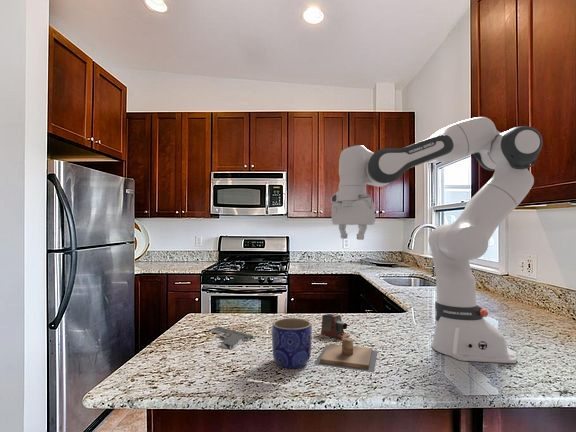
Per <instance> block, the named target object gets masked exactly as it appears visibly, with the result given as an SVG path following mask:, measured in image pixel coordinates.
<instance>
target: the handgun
mask: <svg viewBox="0 0 576 432" xmlns="http://www.w3.org/2000/svg"><path fill="white" fill-rule="evenodd" d="M211 329H212V330H211V332H212V333H215V334H217V338H218V339H223V341H221V342H220V347H222V348H226V349H229V350H234V349H236V348H237V347H238V346H239V345H240V343H242V342H245V341H246V342H249V341H251V340H253V339H254V335H253V334H249V333H245V332H243V331H242V332H241V331H239V330H234V329H230V328H225V327H221V326H216V327H214V328H211Z"/></svg>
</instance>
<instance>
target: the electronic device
mask: <svg viewBox="0 0 576 432" xmlns="http://www.w3.org/2000/svg"><path fill="white" fill-rule="evenodd" d="M347 328H348V324H347V322H344V321H342V317H341V315H340V314H335V313H334V314H329V313H327V314H323V315H321V330H320V334H321V335H324V336H327V337H329V338H334V339H337V340H340V341H342V338H350V337H351V334H348V333H347V332H345V331H344V330H347Z"/></svg>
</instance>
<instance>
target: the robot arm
mask: <svg viewBox="0 0 576 432" xmlns="http://www.w3.org/2000/svg"><path fill="white" fill-rule="evenodd" d="M543 144H544V143H543V136H542V134H541V133H540V131H538V129H536V128H534V127H532V126H528V125H522V126H517V127H516V126H515V127H512V128H510V129H509V130H506V131H503V132H501V131H499V130H498V129H497V128H496V125H495V123H494V121H492V120H491V119H490V118H488V117H486V116H478V117H472V118H468V119H465V120H461V121H458V122H456V123H453V124H450V125H447V126H446V127H443V128H441V129H439V130H437V131H436V132H435V133H433V134H431V136H430V137H428V138H426V139H424V140H421V141H418V142H415V143H412V144H410V145H408V146H405V147H401V148H400V147H399V148H397V147H395V148H394V147H393V148H390V147H386V148H381V149H378V150H376V151H374V152H373V151H371V150H369V149H367V147H365V146H364V145H360V144H354V145H350V146H347V147H345V148H343V150H342V151H341V152H340V154H339V160H338V175H339V176H338V177H339V182H338V190H337V191H336V192H335V193H334V194H333V195H332V196H331V197H330V203H332V205H331V222H332V224H333V225H336V226H338V230H339V233H340V238H341V239H342V240H343V239H345V240H346V239H348V233H347V231H346V230H347V226H349V225H350V226H355V225H358V227H357V228H358V229H359V230H358V233H356V240H358V241H362V240H363V241H364V239H365V235H366V234H365V233H366V232H367V229H368V227H367V226H371V225H373V226H374V224H375V222H376V209H375V204H374V201H373V197H372V196H371V194H369V193H367V185H368V186H373V187H377V188H381V187H385V186H387V185H388V184H390V183H393V182H395V181H397V180H398V179H400V177H402V176H403V174H404V173H406V171H407V170H409V169H411V168H414V167H416V166H420V165H422V164H424V163H427V162H430V161H434V160H435V161H437V162H439V163H443V164H444V163H449V162H454V161H457V160H461V159H463V158H465V157H469V156H471V155H473V156H474V157H475V158H476V159H475V160H476V161H477V163H478V164H479V166H480V167H482V168H483V169H484V170H487V171H491V172H493V171H494V172H493V175H492V176H491V178H490V179H489V180H488V181H487V182H486V183H485V184H484V185H483V186H481V188H480V189H479V190H478V191H477V192H476V193H475V194H474V195H473V196H472V197H471V198H470V199H469V200H468V201H467V202H466V204H465V207H464V209H463V210H462V212H461V214H460V215H459V217H457V219H456V220H455V221H454V222H452V223H445V224H441V225H439V226H436V227H435V228H434V229H432V231H431V232H430V234H429V235H428V244H429V247H430V250H431V255H432V256H431V257H432V261H433V267H434V272H435V280H436V281H435V284H436V288H435V289H436V301H435V302H434V318H435V329H434V334H433V338H432V342H431V348H432V349H433V350H434V351H436V352H439V353H440V354H444V355H446V356H449V357H452V358H454V359H456V360H459V361H465V362H479V363H481V362H482V363H483V362H484V363H501V364H516V363H517V362H518V358H517V355H516V353H515V352H514V351H513V350H512V349H510V347H508V345H507V340H506V339H505V336H504V335H503V333H502V331H500V330H499V329H498V328H497V327H495V326H494V325H493V324H491V323H490V322H488V321H487V320H486V319H485V318H487V317H488V316H489V312H488V310H487V309H485V308H483V307H481V306H479V305H477V282H476V281H477V279H476V277H475V275H474V274H473V272H472V271H473V270H472V269H471V268H472V267H471V264H470V261H473V260H476V259H479V258H481V257H482V256H484V255H485V253H486V252H487V250H488V247H489V241H490V239H491V237H492V236H493V235H494V233H495V231H496V229H497V228H498V227H499V225H501V223H502V222H503V221H504V220H505V219H506V218H507V217H508V216H509V215H511V213H512V212H513V211H514V210H515V209H516V208H517V207H518V206H519V205H520V204H521V203H522V201H524V199H525V198H526V197H527V195H528V194H529V192H530V190H531V189H532V187H533V186H534V184H535V177H534V176H533V173H532V172H531V171H530V170H529V168H531V167H534V166H535V164H536V163H537V159H538V156H539V154H540V153H541V151H542V147H543Z"/></svg>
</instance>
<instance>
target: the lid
mask: <svg viewBox="0 0 576 432" xmlns="http://www.w3.org/2000/svg"><path fill="white" fill-rule="evenodd" d="M328 345H329V346H328V347H327V349H326V351H325V352H324V354H323V355H322V357H321V359H320V363H327V364H334V365H342V366H349V367H357V368H364V369H369V365H370V361H371V356H372V350H373V348H372V347H371V348H370V347H363V346H355V345H354V339H353V338H351V337H347V338H342V340H341V344H339V343H338V344H337V343H329V344H328Z"/></svg>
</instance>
